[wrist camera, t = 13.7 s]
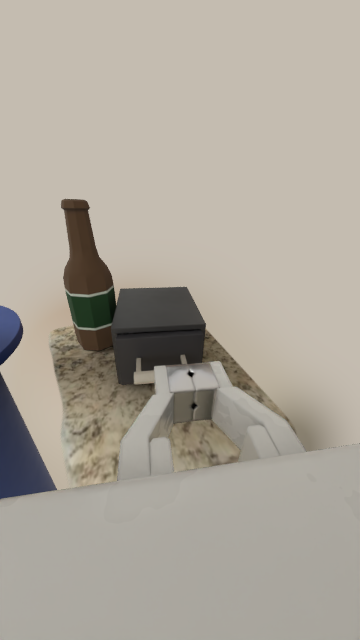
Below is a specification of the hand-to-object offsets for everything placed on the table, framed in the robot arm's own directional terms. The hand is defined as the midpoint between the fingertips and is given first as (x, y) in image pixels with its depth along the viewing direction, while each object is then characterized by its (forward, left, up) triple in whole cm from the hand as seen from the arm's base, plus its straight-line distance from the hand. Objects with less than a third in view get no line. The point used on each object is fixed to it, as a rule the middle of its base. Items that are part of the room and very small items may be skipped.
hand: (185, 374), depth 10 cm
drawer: (0, +21, -16) cm, 27 cm away
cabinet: (0, +25, -17) cm, 30 cm away
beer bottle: (-11, +30, -18) cm, 36 cm away
